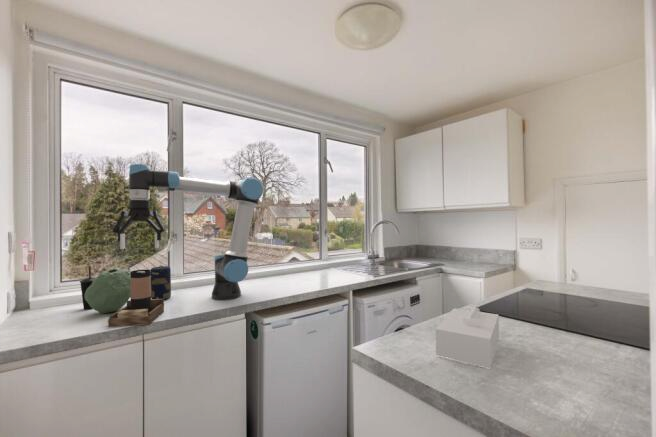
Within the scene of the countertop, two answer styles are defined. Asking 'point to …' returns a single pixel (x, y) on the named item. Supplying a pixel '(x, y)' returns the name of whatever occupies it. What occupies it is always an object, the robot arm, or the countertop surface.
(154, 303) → the wooden tray
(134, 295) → the travel mug
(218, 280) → the robot arm
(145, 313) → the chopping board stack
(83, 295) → the drinking cup
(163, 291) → the canister
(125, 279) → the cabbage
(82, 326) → the countertop surface
